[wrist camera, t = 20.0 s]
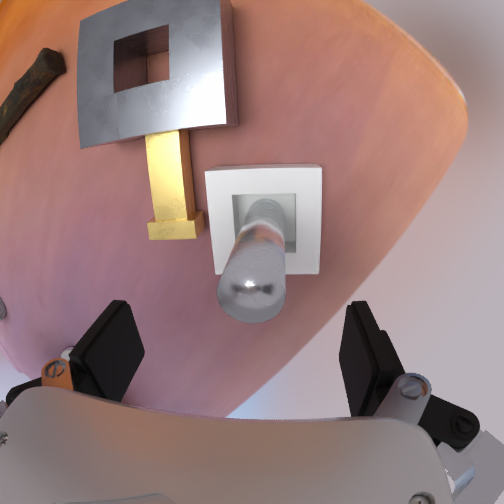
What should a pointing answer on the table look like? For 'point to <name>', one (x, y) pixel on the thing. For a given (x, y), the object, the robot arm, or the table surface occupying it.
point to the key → (172, 187)
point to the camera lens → (2, 310)
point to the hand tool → (29, 88)
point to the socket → (135, 70)
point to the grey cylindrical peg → (256, 266)
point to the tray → (272, 187)
